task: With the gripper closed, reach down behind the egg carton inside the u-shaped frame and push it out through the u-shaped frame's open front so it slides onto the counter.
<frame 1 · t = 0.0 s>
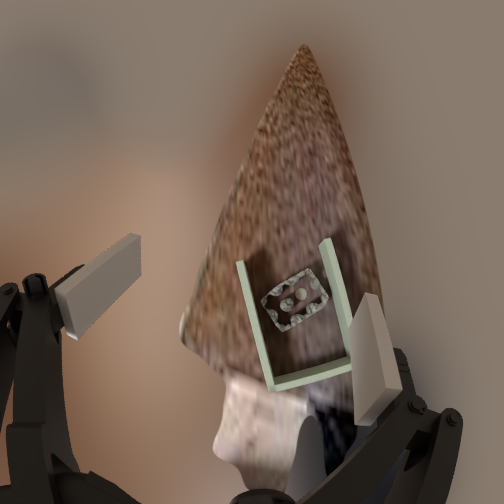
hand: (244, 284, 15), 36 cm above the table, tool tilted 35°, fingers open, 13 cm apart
u-shaped frame: (297, 313, 50), on the table
egg carton: (294, 300, 51), on the table
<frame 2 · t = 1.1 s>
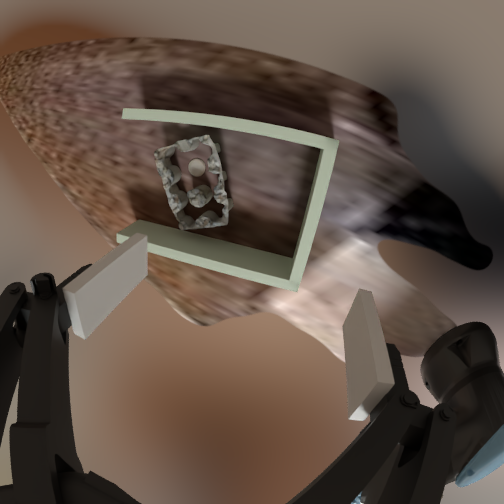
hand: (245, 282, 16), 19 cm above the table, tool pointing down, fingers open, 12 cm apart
u-shaped frame: (219, 184, 33), on the table
egg carton: (203, 179, 33), on the table
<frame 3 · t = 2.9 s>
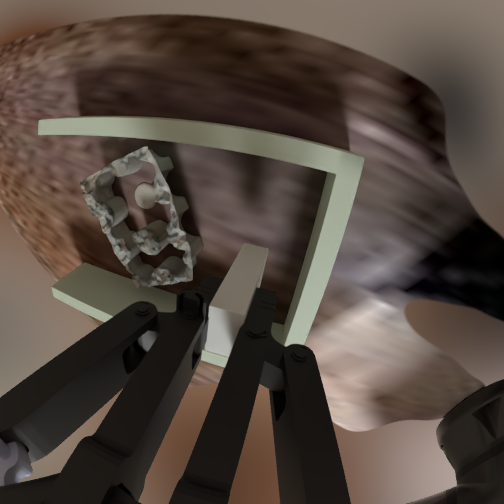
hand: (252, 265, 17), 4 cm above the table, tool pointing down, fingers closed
u-shaped frame: (176, 222, 22), on the table
egg carton: (157, 212, 23), on the table
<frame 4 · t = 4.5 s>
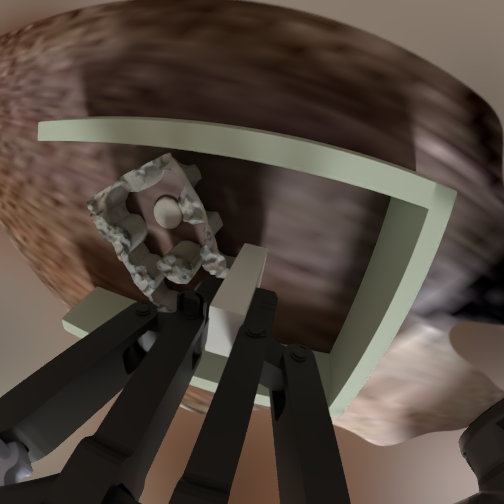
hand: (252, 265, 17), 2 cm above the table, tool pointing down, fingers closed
u-shaped frame: (212, 246, 19), on the table
egg carton: (182, 231, 20), on the table, touching gripper
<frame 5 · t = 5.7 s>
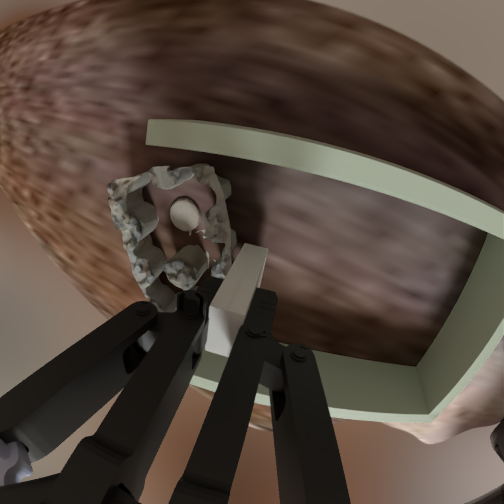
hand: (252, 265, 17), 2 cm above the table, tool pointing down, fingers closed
u-shaped frame: (336, 276, 18), on the table
egg carton: (193, 236, 20), on the table
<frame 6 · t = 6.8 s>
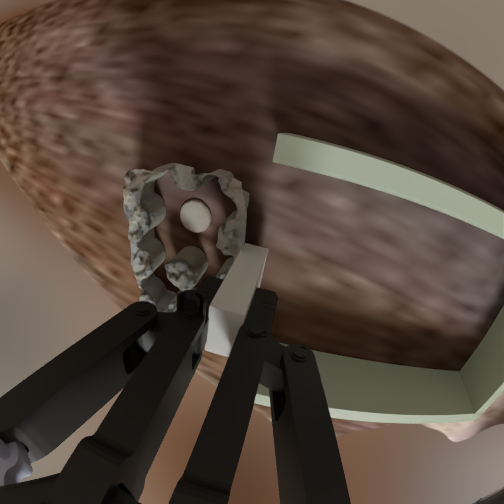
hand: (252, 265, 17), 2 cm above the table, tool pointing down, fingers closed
u-shaped frame: (410, 293, 18), on the table
egg carton: (198, 237, 20), on the table
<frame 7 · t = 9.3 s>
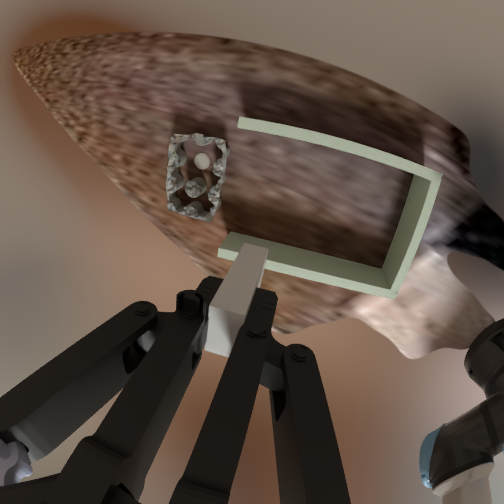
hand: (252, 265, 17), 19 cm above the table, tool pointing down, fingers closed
u-shaped frame: (324, 201, 34), on the table
egg carton: (203, 172, 36), on the table
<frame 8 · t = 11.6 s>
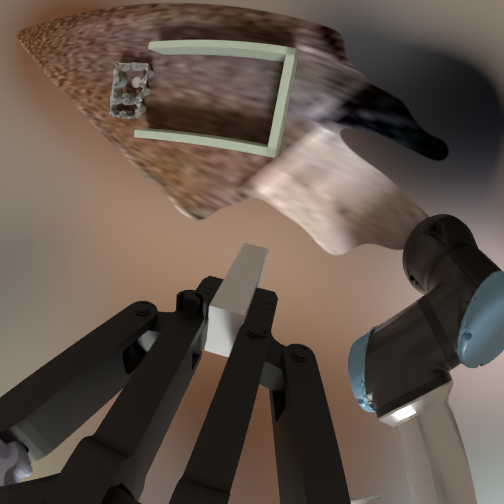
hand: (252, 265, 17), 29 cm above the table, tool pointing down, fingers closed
u-shaped frame: (216, 94, 40), on the table
egg carton: (136, 90, 42), on the table
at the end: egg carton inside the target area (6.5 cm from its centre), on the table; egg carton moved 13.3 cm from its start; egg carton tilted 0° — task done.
